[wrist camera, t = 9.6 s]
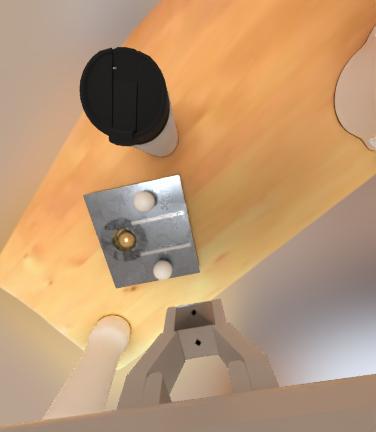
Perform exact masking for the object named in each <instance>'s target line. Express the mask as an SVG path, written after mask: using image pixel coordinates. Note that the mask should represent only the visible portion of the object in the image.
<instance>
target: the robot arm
mask: <svg viewBox="0 0 376 432" xmlns="http://www.w3.org/2000/svg"><path fill="white" fill-rule="evenodd" d="M335 109H336V113H337V116H338V119H339V121H340V123H341V124H342V126H343V127H344V128H345V129H346V130H347V131H348V132H350V133H351V134H353V135H355V136H357V137H359V138H361V139H362V140H363V142H364V143H365V145H366V146H367V147H368V148H369V149H370V150H373V151H374V150H376V26H375V27H374V28H373V30H372V32H371V33H370V35H369V37H368V39H367V41H366V43H365V44H364V45H363V47H362V48H361V49H360V50H359V51H358V52H357V53H355V54H354V56H353V57H352V58H351V59H350V60H349V61H348V63H347V64H346V66H345V67H344V69H343V71H342V73H341V75H340V77H339V80H338V83H337V87H336V92H335ZM211 355H219V356H220V358H221V359H222V360H223V362H224V363H225V364H226V366H227V367H228V368H229V373H230V379H231V385H232V391H233V394H228V395H220V396H213V397H207V398H199V399H192V400H184V401H177V402H172V401H171V399H170V396H169V394H170V392H171V390H172V388H173V386H174V384H175V382H176V379H177V377H178V375H179V373H180V371H181V369H182V367H183V365H184V363H185V360H187V359H192V358H197V357H204V356H211ZM0 432H376V374H372V375H364V376H357V377H350V378H343V379H336V380H328V381H321V382H314V383H307V384H300V385H292V386H285V387H279V385H278V383H277V380H276V378H275V375H274V373H273V370H272V368H271V365H270V363H269V361H268V358H267V355H266V354H264V353H263V352H262V351H261V350H260V349H259V348H258V347H256V346H255V345H254V344H253V343H252V342H251V341H249V340H248V339H247V338H246V337H245V336H244V335H243V334H242V333H241V332H239V331H238V330H237V329H236V328H235V327H234V326H233V325H231V324H230V323H226V319H225V315H224V311H223V306H222V302H221V299H216V300H212V301H206V302H201V303H195V304H189V305H182V306H177V307H170V308H168V309H167V312H166V318H165V325H164V331H163V333H162V334H160V335H159V336H158V337H157V339H156V340H155V341H154V342H153V344H152V345H151V346H150V347H149V349H148V350H147V351H146V353H145V354H144V355H143V356H142V357H141V359H140V360H139V361H138V363H137V364H136V365H135V366H134V367H133V369H132V370H131V371H130V372H129V374H128V375H127V376H126V380H125V383H124V386H123V390H122V393H121V396H120V399H119V403H118V406H117V409H116V410H112V411H105V412H97V413H90V414H83V415H76V416H69V417H61V418H54V419H47V420H40V421H32V422H25V423H18V424H11V425H4V426H0Z"/></svg>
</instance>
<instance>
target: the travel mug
mask: <svg viewBox="0 0 376 432" xmlns="http://www.w3.org/2000/svg"><path fill="white" fill-rule="evenodd" d="M80 99H81V102H82V106H83V109H84V111H85V113H86V115H87V117H88V118H89V120H90V121H91V123H92V124H93V125H94V126H95V127H96V128H97V129H98V130H100V131H101V132H103V133H104V134H106V135H108V136H109V141H110V142H111V143H113V144H116V145H120V146H132V147H135V148H137V149H139V150H142V151H144V152H146V153H149V154H151V155H154V156H156V157H165V156H168V155H170V154H171V153H172V152H173V151H174V150H175V149H176V147H177V144H178V133H177V129H176V124H175V120H174V115H173V111H172V106H171V102H170V98H169V93H168V91H167V87H166V83H165V79H164V77H163V74H162V72H161V70H160V69H159V67H158V65H157V64H156V63H155V62H154V61H153V59H152V58H151V57H150V56H148V55H146V54H144V53H142V52H140V51H136V50H135V49H132V48H127V47H117V48H115V49H112V48H109V49H106V50H102V51H99V52H98V53H97V54H95V55H94V56H93V57H92V58H91V59H90V61H89V62H88V63H87V65H86V67H85V69H84V71H83V73H82V77H81V80H80Z"/></svg>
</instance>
